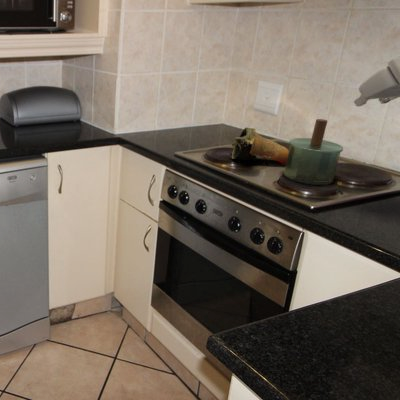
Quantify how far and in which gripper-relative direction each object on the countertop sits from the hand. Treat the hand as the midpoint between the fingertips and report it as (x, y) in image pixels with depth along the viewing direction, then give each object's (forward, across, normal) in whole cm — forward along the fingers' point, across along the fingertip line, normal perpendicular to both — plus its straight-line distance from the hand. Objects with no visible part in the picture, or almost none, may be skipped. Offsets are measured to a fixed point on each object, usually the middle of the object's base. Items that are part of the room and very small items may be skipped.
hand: (369, 102), depth 121 cm
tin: (+25, 0, +9) cm, 27 cm away
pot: (+38, +4, -3) cm, 38 cm away
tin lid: (+18, 0, +2) cm, 19 cm away
